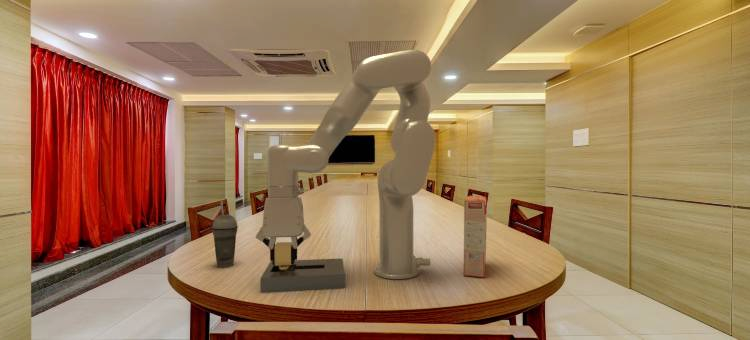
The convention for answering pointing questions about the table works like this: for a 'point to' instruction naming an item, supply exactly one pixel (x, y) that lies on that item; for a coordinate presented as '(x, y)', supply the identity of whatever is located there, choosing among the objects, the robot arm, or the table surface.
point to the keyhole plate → (304, 276)
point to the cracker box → (475, 236)
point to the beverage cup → (224, 239)
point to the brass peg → (283, 255)
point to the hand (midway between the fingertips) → (283, 262)
